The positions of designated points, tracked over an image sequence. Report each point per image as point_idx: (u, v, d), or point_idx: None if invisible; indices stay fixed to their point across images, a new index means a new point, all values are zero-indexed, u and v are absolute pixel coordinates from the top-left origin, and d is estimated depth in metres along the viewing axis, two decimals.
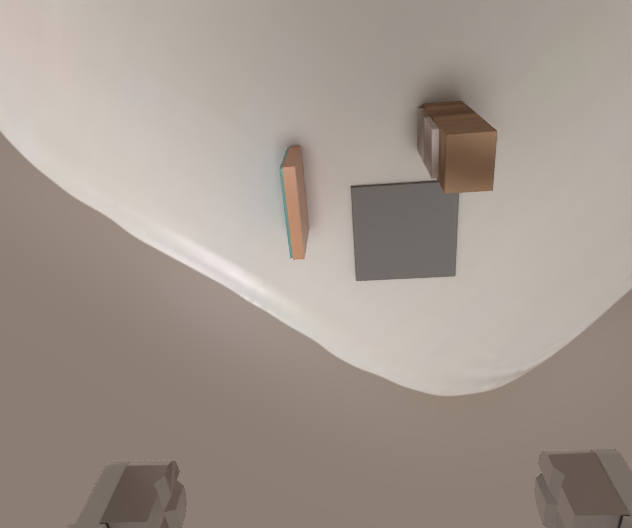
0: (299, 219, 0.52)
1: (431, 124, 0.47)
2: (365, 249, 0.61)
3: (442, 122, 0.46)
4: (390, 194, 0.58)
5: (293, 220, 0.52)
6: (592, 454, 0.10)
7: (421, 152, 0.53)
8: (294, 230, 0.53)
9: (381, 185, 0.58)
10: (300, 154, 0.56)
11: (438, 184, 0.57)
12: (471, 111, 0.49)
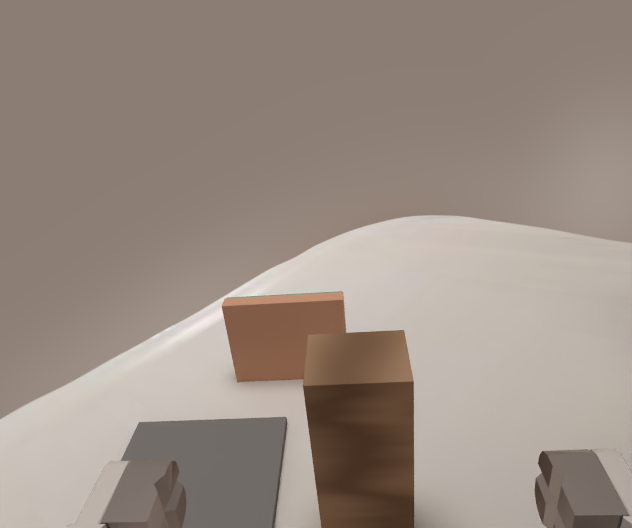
0: (275, 303, 0.42)
1: None
2: (185, 432, 0.40)
3: None
4: (265, 461, 0.37)
5: (275, 298, 0.42)
6: (592, 454, 0.10)
7: None
8: (262, 299, 0.43)
9: (282, 453, 0.38)
10: None
11: None
12: (413, 501, 0.27)
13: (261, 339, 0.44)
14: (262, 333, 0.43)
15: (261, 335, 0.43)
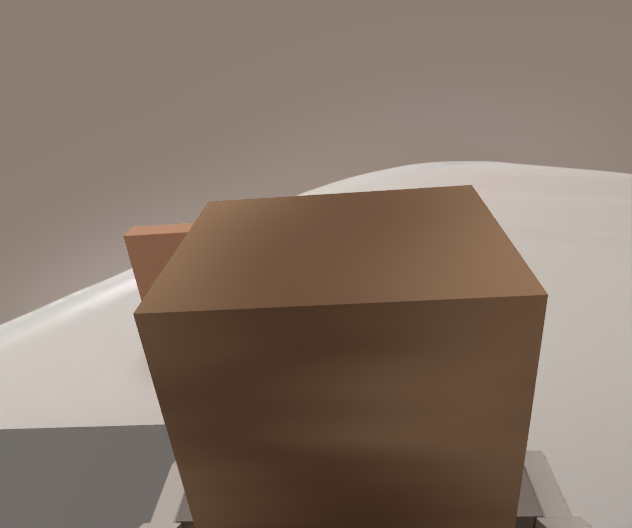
0: None
1: None
2: (49, 449, 0.23)
3: None
4: None
5: None
6: None
7: None
8: None
9: None
10: None
11: None
12: None
13: None
14: None
15: None
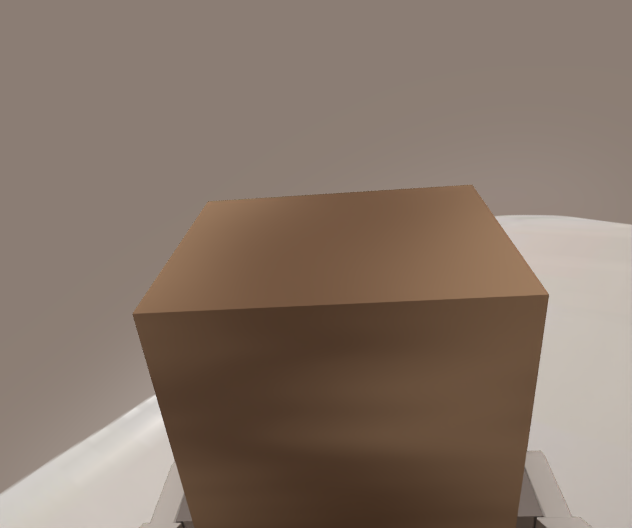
0: None
1: None
2: None
3: None
4: None
5: None
6: None
7: None
8: None
9: None
10: None
11: None
12: None
13: None
14: None
15: None
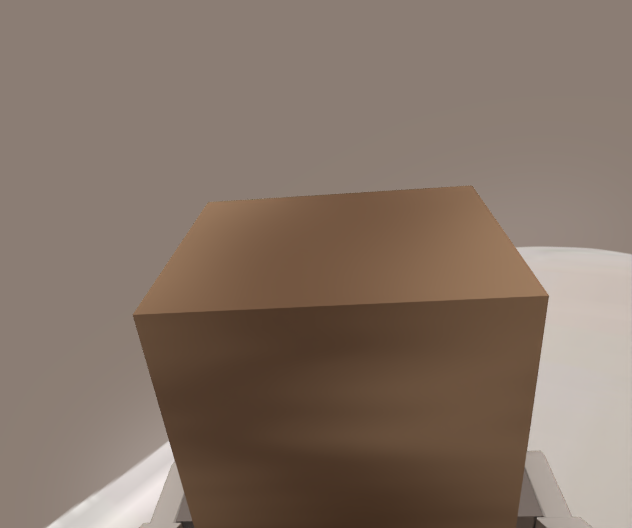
0: None
1: None
2: None
3: None
4: None
5: None
6: None
7: None
8: None
9: None
10: None
11: None
12: None
13: None
14: None
15: None
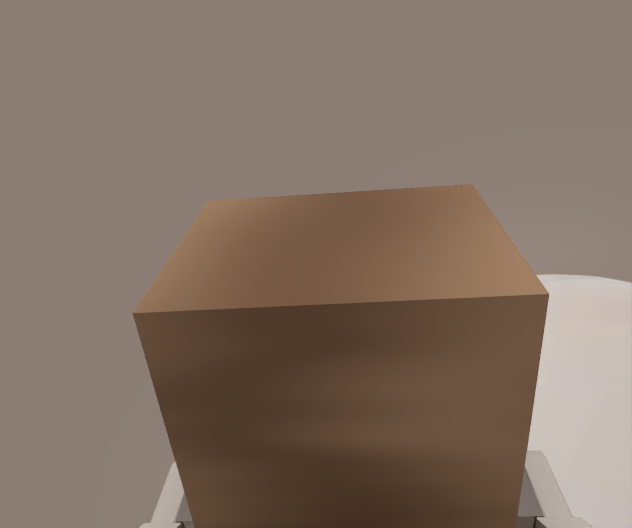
0: None
1: None
2: None
3: None
4: None
5: None
6: None
7: None
8: None
9: None
10: None
11: None
12: None
13: None
14: None
15: None
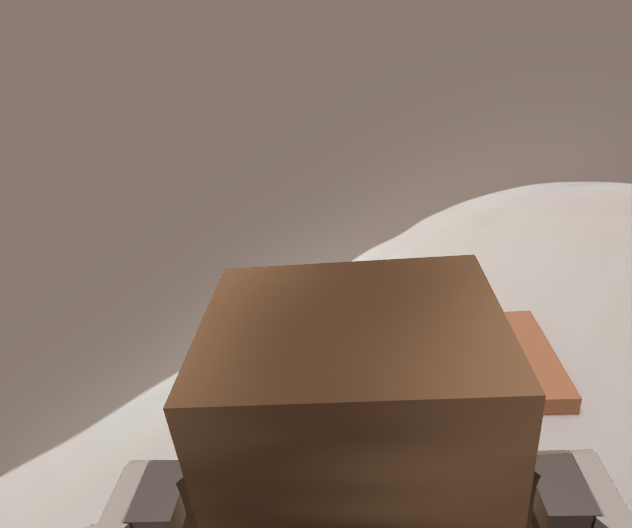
0: None
1: None
2: None
3: None
4: None
5: None
6: (568, 455, 0.10)
7: None
8: None
9: None
10: (558, 377, 0.27)
11: None
12: None
13: None
14: None
15: None
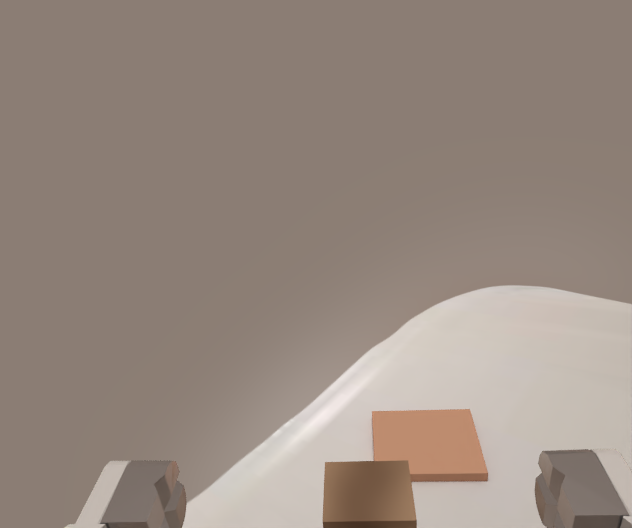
0: (415, 411, 0.53)
1: None
2: None
3: None
4: None
5: None
6: (592, 454, 0.10)
7: None
8: None
9: None
10: (477, 459, 0.47)
11: None
12: None
13: (402, 436, 0.50)
14: (403, 431, 0.51)
15: (402, 433, 0.51)
